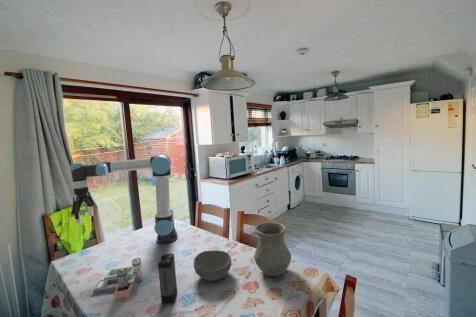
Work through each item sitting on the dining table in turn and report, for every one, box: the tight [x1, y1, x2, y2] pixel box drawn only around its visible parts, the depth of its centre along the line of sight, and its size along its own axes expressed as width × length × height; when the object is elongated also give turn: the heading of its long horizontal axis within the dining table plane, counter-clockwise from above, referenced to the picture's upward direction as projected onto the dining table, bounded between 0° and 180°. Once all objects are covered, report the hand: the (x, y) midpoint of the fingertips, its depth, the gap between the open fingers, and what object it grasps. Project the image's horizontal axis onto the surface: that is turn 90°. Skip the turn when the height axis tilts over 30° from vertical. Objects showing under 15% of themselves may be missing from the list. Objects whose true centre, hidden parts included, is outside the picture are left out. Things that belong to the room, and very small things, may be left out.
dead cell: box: [117, 267, 129, 291], centre depth 110 cm, size 4×4×13 cm
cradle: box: [92, 278, 118, 295], centre depth 116 cm, size 12×8×3 cm
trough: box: [103, 265, 134, 280], centre depth 125 cm, size 14×8×3 cm, turn 101°
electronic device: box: [157, 252, 178, 306], centre depth 105 cm, size 9×6×20 cm, turn 5°
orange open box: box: [114, 281, 134, 300], centre depth 110 cm, size 6×6×4 cm
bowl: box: [193, 249, 232, 282], centre depth 121 cm, size 20×20×10 cm
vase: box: [254, 221, 292, 277], centre depth 120 cm, size 20×19×25 cm
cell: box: [131, 257, 144, 284], centre depth 120 cm, size 4×4×13 cm
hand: (85, 219), depth 142 cm, fingers open, 13 cm apart
